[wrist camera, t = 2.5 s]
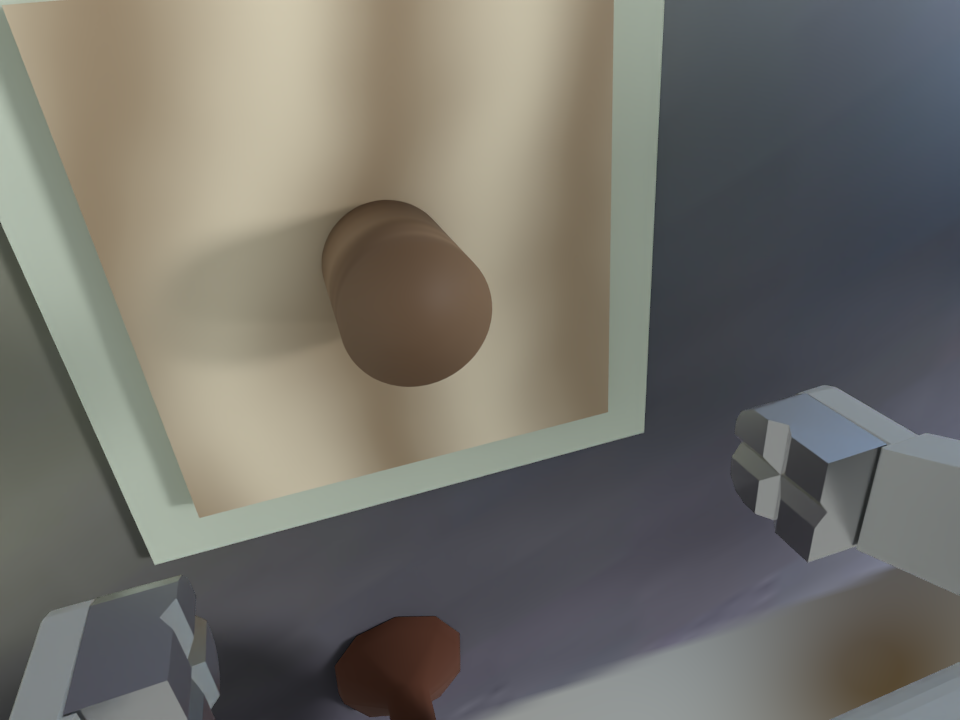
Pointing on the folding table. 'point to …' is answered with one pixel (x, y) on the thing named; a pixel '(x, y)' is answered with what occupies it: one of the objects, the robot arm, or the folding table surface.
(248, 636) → the folding table surface
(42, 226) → the lid mat
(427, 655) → the ice cream bowl
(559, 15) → the lid
